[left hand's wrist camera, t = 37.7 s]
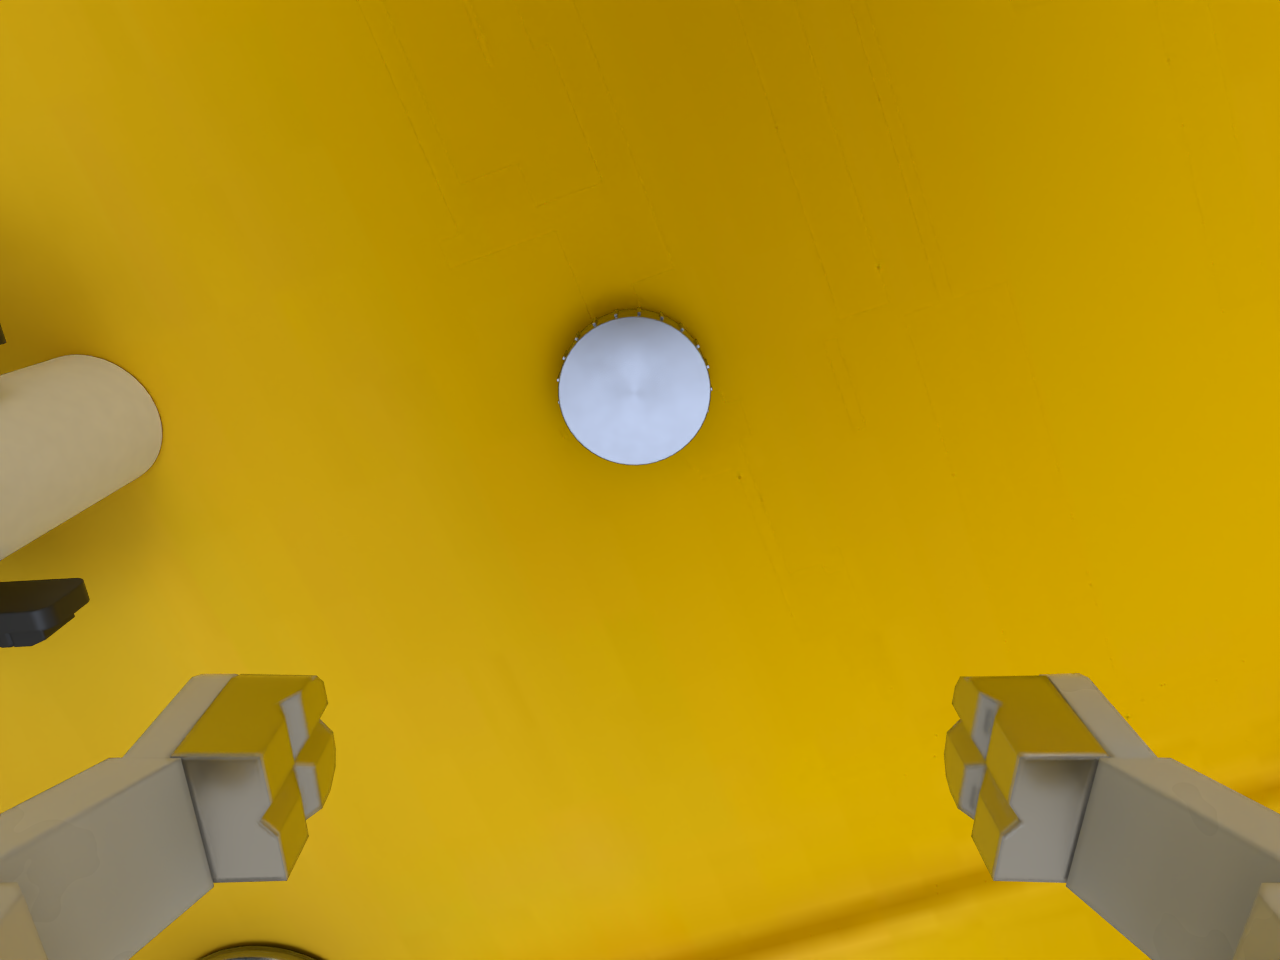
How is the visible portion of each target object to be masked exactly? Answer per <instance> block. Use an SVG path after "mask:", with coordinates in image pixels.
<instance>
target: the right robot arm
mask: <svg viewBox="0 0 1280 960" xmlns="http://www.w3.org/2000/svg"><path fill="white" fill-rule="evenodd" d="M4 343H6V340H5V337H4V334H3V331H2V328H1V325H0V345H1V344H4ZM89 600H90V599H89V596H88V593H87V590H86V587H85V584H84V581H83V579H81V578H68V579H50V580H32V581H14V582H0V647H1V648H4V647H13V646H14V647H22V646H33V645H35V644H37V643H39V642H41V641H43V640H46V639H47V638H48V637H49V636H51V635H52V634H53V633H55V632H56V631H57V630H58V629H60V628H61V627H62V626H63V625H65V624H66V623H67V622H69V621H70V620H71V619H72V618H74V617H75V615H74V613H75V612H76V611H78V610H79V609H80V608H81V607H83V606H84V605H85V604H87V603H88V602H89ZM200 960H315V959H313V958H311V957H309V956H306V955H303V954H301V953H298V952H294V951H290V950H287V949H282V948H276V947H268V946H243V947H235V948H229V949H225V950H221V951H218V952H215V953H212V954H210V955H208V956H206V957H204V958H202V959H200Z"/></svg>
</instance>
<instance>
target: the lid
mask: <svg viewBox="0 0 1280 960" xmlns="http://www.w3.org/2000/svg"><path fill="white" fill-rule="evenodd" d="M699 347H700V346H699V343H698V341H697V339H695V340H694V339H693V338H692V336H691V335H690V334H689V333H688V332H687V331H686V330H685V329H684V327H683V324H682V323H679V324H678V323H677V322H675V321H673V320H672V319H670V318H668V317H666V316H664V315H663V312H660V313H656V312H653V311H648V310H642V309H641V307H637V309H629V310H621V311H618V309H615V311H614V312H612V313H610V314H607V315H604V316H602V317H600V318H599V319H597V318H594V319H593V322H592V323H591V324H589V325H588V326H587V327H586V328H585V329H584V330H583V331H582V332H581V333H580V332H578V333H577V334H576V337H575V339H574V342H573V343H572V345H571V347H570V348H569V350H568V351H567V350H566V351H565V354H564V356H563V360H564V363H563V365H562V368H561V372H560V373H559V375H558V378H557V382H559V383H558V399H559V400H558V404H559V406H560V409H561V413H562V416H563V418H564V421H565V423H566V425H567V426H568V428H569V430H570V432H571V433H572V434H573V435H574V437H575V438H576V439H577V440H578V441H579V442H580V443H581V444H582V445H583V446H584V447H585V448H586V449H588V450H589V451H590V452H592V453H593V454H595V455H597V456H599V457H601V458H603V459H605V460H608V461H611V462H614V463H618V464H624V465H645V464H650V463H655V462H658V461H661V460H664V459H666V458H668V457H670V456H672V455H674V454H676V453H677V452H679V451H680V450H681V449H683V448H684V447H685V446H686V445H687V444H688V443H689V442H690V441H691V440H692V439H693V438H694V437H695V436H696V434H697V433H698V431H699V430H700V428H701V426H702V424H703V422H704V420H705V418H706V415H707V413H708V411H709V404H710V397H711V391H712V386H711V383H710V377H709V372H708V368H709V365H708V362H707V360H706V359H704V358H703V355H702V353H701V351H700V349H699Z"/></svg>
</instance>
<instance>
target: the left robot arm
mask: <svg viewBox="0 0 1280 960" xmlns="http://www.w3.org/2000/svg"><path fill="white" fill-rule="evenodd" d="M327 705H328V701H327V696H326V691H325V687H324V682H323V681H322V680H321V679H320V678H319V677H318V676H313V675H266V674H240V675H237V674H201V675H198V676H195V677H192V678H191V679H190V680H189V681H188V682H187V683H186V685H185V686H184V687H183V688H182V689H181V690H180V692H179V693H178V694H177V695H176V696H175V697H174V698H173V700H172V701H171V702H170V703H169V704H168V705H167V707H166V708H165V709H164V710H163V711H162V712H161V714H160V715H159V716H158V717H157V718H156V719H155V720H154V722H153V723H152V724H151V725H150V726H149V727H148V729H147V730H146V731H145V732H144V733H143V734H142V736H141V737H140V738H139V739H138V740H137V741H136V742H135V744H134V745H133V746H132V747H131V748H130V749H129V751H128V752H127V753H126V754H125V755H124V756H123V758H108V759H106V760H104V761H102V762H100V763H99V764H97V765H95V766H93V767H91V768H89V769H87V770H85V771H83V772H81V773H79V774H77V775H75V776H73V777H71V778H69V779H67V780H65V781H64V782H62V783H60V784H58V785H56V786H54V787H52V788H50V789H48V790H46V791H44V792H42V793H40V794H38V795H36V796H34V797H32V798H30V799H29V800H27V801H25V802H23V803H21V804H19V805H17V806H15V807H13V808H11V809H9V810H7V811H5V812H3V813H1V814H0V960H128V959H130V958H131V957H132V956H133V955H134V954H136V953H137V952H138V951H139V950H140V949H141V948H143V947H144V946H145V945H146V944H147V943H148V942H150V941H151V940H152V939H153V938H154V937H155V936H157V935H158V934H159V933H160V932H161V931H162V930H164V929H165V928H166V927H167V926H168V925H169V924H171V923H172V922H173V921H174V920H175V919H177V918H178V917H179V916H180V915H181V914H182V913H184V912H185V911H186V910H187V909H188V908H189V907H191V906H192V905H193V904H194V903H195V902H196V901H198V900H199V899H200V898H201V897H202V896H203V895H205V894H206V893H207V892H208V891H209V890H211V889H212V888H213V887H214V884H213V883H219V882H254V881H287V879H288V877H289V875H290V873H291V871H292V869H293V867H294V865H295V863H296V861H297V859H298V857H299V855H300V853H301V851H302V849H303V847H304V845H305V843H306V841H307V839H308V837H309V835H308V830H307V824H306V819H308V818H309V817H311V816H312V815H313V814H315V813H316V812H318V811H319V810H320V809H322V808H323V805H324V803H325V801H326V799H327V797H328V794H329V792H330V790H331V785H332V781H333V776H334V771H335V764H336V748H335V741H334V735H333V732H332V731H331V730H330V729H329V728H328V727H327V726H326V725H325V724H324V723H323V722H322V721H321V720H320V717H321V715H322V714H323V712H324V710H325V708H326V706H327ZM952 705H953V706H954V708H955V710H956V712H957V714H958V715H959V717H960V720H959V721H958V722H957V723H956V724H955V725H954V726H953V727H952V728H951V729H950V730H949V731H948V732H947V735H946V743H945V750H944V760H945V772H946V778H947V782H948V785H949V789H950V792H951V795H952V797H953V799H954V801H955V803H956V805H957V808H958V809H960V810H961V811H963V812H964V813H965V814H967V815H968V816H969V817H971V818H972V819H974V824H973V830H972V835H971V837H972V839H973V841H974V843H975V845H976V847H977V849H978V851H979V853H980V855H981V857H982V859H983V861H984V863H985V865H986V867H987V869H988V871H989V873H990V875H991V877H992V879H993V881H1025V882H1061V883H1067V884H1066V887H1068V888H1069V889H1070V890H1071V891H1072V892H1073V893H1075V894H1076V895H1077V896H1078V897H1079V898H1080V899H1082V900H1083V901H1084V902H1085V903H1086V904H1087V905H1089V906H1090V907H1091V908H1092V909H1093V910H1094V911H1096V912H1097V913H1098V914H1099V915H1100V916H1101V917H1103V918H1104V919H1105V920H1106V921H1107V922H1108V923H1110V924H1111V925H1112V926H1113V927H1114V928H1116V929H1117V930H1118V931H1119V932H1120V933H1121V934H1123V935H1124V936H1125V937H1126V938H1127V939H1128V940H1130V941H1131V942H1132V943H1133V944H1134V945H1135V946H1137V947H1138V948H1139V949H1140V950H1141V951H1142V952H1144V953H1145V954H1146V955H1147V956H1148V957H1149V958H1151V959H1152V960H1280V814H1278V813H1276V812H1274V811H1273V810H1271V809H1269V808H1267V807H1265V806H1263V805H1261V804H1259V803H1257V802H1255V801H1253V800H1251V799H1249V798H1247V797H1245V796H1243V795H1242V794H1240V793H1238V792H1236V791H1234V790H1232V789H1230V788H1228V787H1226V786H1224V785H1222V784H1220V783H1218V782H1216V781H1214V780H1212V779H1211V778H1209V777H1207V776H1205V775H1203V774H1201V773H1199V772H1197V771H1195V770H1193V769H1191V768H1189V767H1187V766H1185V765H1183V764H1181V763H1180V762H1178V761H1176V760H1174V759H1172V758H1157V756H1156V755H1155V754H1154V753H1153V752H1152V751H1151V749H1150V748H1149V747H1148V746H1147V745H1146V744H1145V743H1144V741H1143V740H1142V739H1141V738H1140V737H1139V736H1138V734H1137V733H1136V732H1135V731H1134V730H1133V729H1132V727H1131V726H1130V725H1129V724H1128V723H1127V722H1126V721H1125V719H1124V718H1123V717H1122V716H1121V715H1120V714H1119V712H1118V711H1117V710H1116V709H1115V708H1114V707H1113V705H1112V704H1111V703H1110V702H1109V701H1108V700H1107V699H1106V697H1105V696H1104V695H1103V694H1102V693H1101V692H1100V690H1099V689H1098V688H1097V687H1096V686H1095V685H1094V683H1093V682H1092V681H1091V680H1090V679H1089V678H1088V677H1086V676H1083V675H1081V674H1079V673H1073V674H1041V675H1039V676H962V677H960V678H959V680H958V682H957V684H956V686H955V690H954V695H953V700H952Z"/></svg>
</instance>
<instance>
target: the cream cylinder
mask: <svg viewBox="0 0 1280 960" xmlns="http://www.w3.org/2000/svg"><path fill="white" fill-rule="evenodd" d="M161 442H162V426H161V420H160V416H159V413H158V410H157V408H156V406H155V404H154V402H153V400H152V398H151V397H150V395H149V394H148V392H147V391H146V390H145V388H144V387H143V386H142V385H141V384H140V383H139V382H138V381H137V380H136V379H135V378H134V377H133V376H132V375H131V374H129V373H128V372H126V371H125V370H124V369H122V368H120V367H119V366H117V365H115V364H113V363H111V362H108V361H106V360H103V359H100V358H97V357H93V356H87V355H66V356H62V357H58V358H54V359H51V360H48V361H45V362H41V363H38V364H35V365H32V366H29V367H25V368H22V369H19V370H16V371H12V372H9V373H6V374H3V375H0V560H2V559H3V558H5V557H7V556H8V555H10V554H12V553H13V552H15V551H17V550H18V549H20V548H22V547H23V546H25V545H27V544H28V543H30V542H32V541H33V540H35V539H37V538H38V537H40V536H42V535H43V534H45V533H47V532H48V531H50V530H52V529H53V528H55V527H57V526H58V525H60V524H62V523H63V522H65V521H67V520H68V519H70V518H72V517H73V516H75V515H77V514H78V513H80V512H82V511H83V510H85V509H87V508H88V507H90V506H92V505H93V504H95V503H96V502H98V501H100V500H101V499H103V498H105V497H106V496H108V495H110V494H111V493H113V492H115V491H116V490H118V489H120V488H121V487H123V486H125V485H126V484H128V483H130V482H131V481H133V480H135V479H136V478H138V477H140V476H141V475H142V474H144V473H145V472H146V471H147V470H148V469H149V468H150V467H151V466H152V464H153V463H154V462H155V460H156V458H157V456H158V454H159V451H160V447H161Z"/></svg>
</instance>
